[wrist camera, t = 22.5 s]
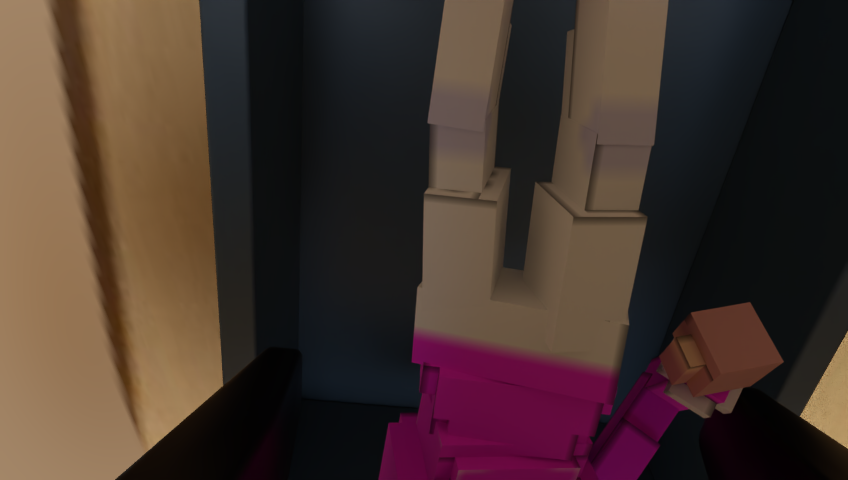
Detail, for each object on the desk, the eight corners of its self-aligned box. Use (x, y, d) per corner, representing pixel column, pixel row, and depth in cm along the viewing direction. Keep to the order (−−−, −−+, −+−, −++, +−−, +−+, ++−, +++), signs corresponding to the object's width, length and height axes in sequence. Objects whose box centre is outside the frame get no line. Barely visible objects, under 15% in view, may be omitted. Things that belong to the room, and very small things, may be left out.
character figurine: (301, -144, 7) (297, 616, 11) (49, -559, 2) (219, 1090, 6) (791, -93, 7) (600, 621, 11) (1657, -323, 2) (750, 1070, 6)
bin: (640, 428, 17) (707, 584, 13) (279, 399, 16) (233, 553, 12) (935, -326, 9) (1327, -517, 5) (275, -432, 9) (149, -735, 5)
